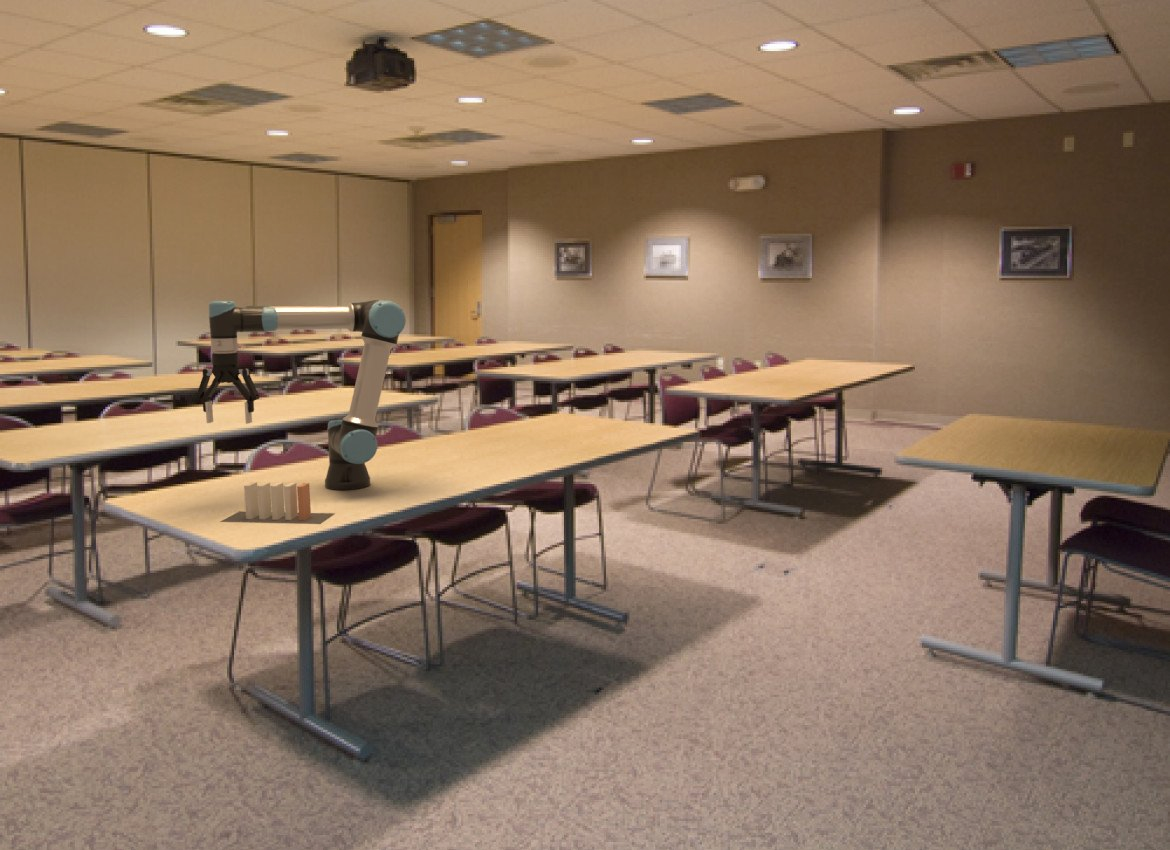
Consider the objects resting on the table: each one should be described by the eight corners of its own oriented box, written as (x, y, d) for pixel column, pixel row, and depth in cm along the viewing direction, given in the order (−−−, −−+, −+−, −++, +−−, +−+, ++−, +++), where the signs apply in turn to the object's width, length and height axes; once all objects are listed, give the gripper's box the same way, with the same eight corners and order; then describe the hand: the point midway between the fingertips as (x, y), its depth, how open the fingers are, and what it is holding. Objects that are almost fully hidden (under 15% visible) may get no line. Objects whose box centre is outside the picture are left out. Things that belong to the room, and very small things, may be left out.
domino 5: (298, 520, 263) (297, 486, 261) (305, 515, 268) (304, 482, 266) (304, 520, 263) (302, 486, 261) (310, 516, 268) (309, 483, 266)
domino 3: (272, 519, 264) (270, 486, 262) (279, 515, 269) (277, 482, 267) (277, 519, 264) (275, 486, 262) (284, 515, 268) (283, 482, 267)
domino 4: (285, 519, 263) (283, 486, 262) (292, 515, 268) (290, 482, 267) (290, 520, 263) (289, 486, 262) (297, 515, 268) (296, 482, 267)
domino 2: (259, 519, 264) (257, 485, 262) (266, 515, 269) (264, 482, 267) (264, 519, 264) (262, 485, 262) (271, 515, 269) (270, 482, 267)
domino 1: (246, 518, 264) (244, 485, 263) (253, 514, 269) (251, 481, 268) (251, 519, 264) (249, 485, 263) (258, 514, 269) (257, 482, 268)
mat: (220, 522, 262) (219, 521, 261) (239, 512, 273) (239, 511, 273) (320, 524, 259) (320, 523, 259) (335, 514, 271) (335, 513, 271)
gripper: (180, 353, 272) (185, 424, 275) (257, 353, 270) (261, 424, 273) (193, 351, 279) (198, 420, 282) (268, 351, 277) (272, 421, 280)
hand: (229, 422), depth 278 cm, fingers open, 12 cm apart
